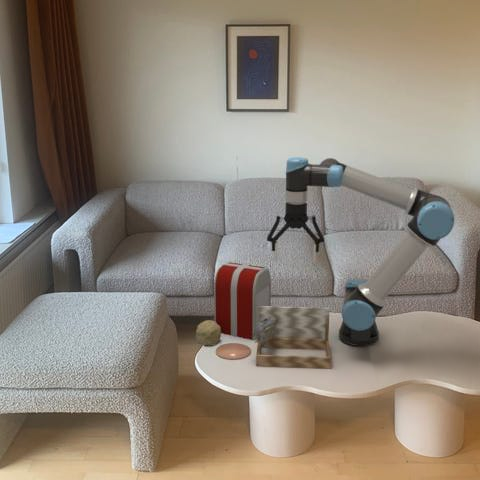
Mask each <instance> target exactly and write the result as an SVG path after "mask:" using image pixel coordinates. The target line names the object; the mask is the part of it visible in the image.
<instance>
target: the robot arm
mask: <svg viewBox="0 0 480 480" xmlns="http://www.w3.org/2000/svg"><path fill="white" fill-rule="evenodd" d="M308 187H323V188H326V187H327V188H340V187H344V188H347V189H350V190H352V191H354V192H357V193H360V194H363V195H365V196H367V197H369V198H372V199H374V200H378V201H380V202H383V203H385V204H388V205H391V206H393V207H396V208H399V209H401V210H404V212H405V214H407V215H409V216H412V217H411V219H410V221H409V222H408V223H407V224H406V230H407V231H406V232H405V234H404V235H403V237H402V238H400V240H399V241H398V242H397V244H396V245H395V246H394V247H393V248H392V250H391V251H390V252H389V254H388V255H387V256H386V258H384V260H383V261H382V262H381V264H379V266H378V267H377V268H376V269H375V271H374V272H373V273H372V275H371V276H370V277H369V278H368V279H365V278H353V279H348V280H346V281H345V286H344V289H345V290H344V291H345V292H344V299H343V304H342V308H341V319H342V321H341V325H340V327H339V329H338V339H339V340H340V341H341V342H343V343H345V344H349V345H353V346H360V347H361V346H363V347H364V346H370V345H374V344H376V343H378V341H379V338H380V335H379V334H380V333H379V330H378V326H377V323H376V318H377V315H378V314H379V313H380V312H381V311H382V310H383V309H384V307H385V306H386V301H385V300H386V298H387V297H388V296H389V295H390V293H391V292H392V291H393V289H395V287H396V286H397V285H398V284H399V283H400V281H401V280H402V279H403V277H405V275H406V274H407V273H408V272H409V270H410V269H412V267H413V266H414V264H416V262H417V261H418V260H419V258H420V257H421V256H422V255H423V254H424V253H425V251H426V250H427V249H428V248H429V247H431V248H433V247H435V246H436V245H437V244H439V242H440V240H442V239H443V238H446V237H447V236H448V235H449V234H450V233H451V232H452V231H453V228H454V226H455V221H456V220H455V214H454V212H453V209H452V208H451V205H450V203H449V202H448V200H446V199H445V198H444V197H442V196H440V195H437V194H434V193H430V192H429V191H425V190H421V189H420V188H415V189H411V188H408V187H405V186H402V185H400V184H397V183H394V182H392V181H390V180H386V179H384V178H383V177H379V176H376V175H374V174H370V173H368V172H365V171H363V170H360V169H358V168H355V167H352V166H350V165H346V164H344V163H341V162H340V161H338V160H337V159H335V158H333V157H329V158H326V159H323V160H322V161H321V162H320V163H319V164H312V163H309V159H308V158H306V157H299V156H298V157H297V156H296V157H295V156H294V157H289V158H288V159H287V161H286V169H285V201H286V203H285V213H284V215H280V214H276V220H275V222H274V224H273V226H272V228H271V230H270V231H269V233H268V235H267V237H266V241H267V242H270V243H271V251H272V252H274V261H275V262H277V261H278V239H279V238H280V237H281V236H282V235H283V234H284V233H285V232H286V231H287V230H288V229H289V228H290V229H297V230H298V229H300V230H301V228H303V230H305V231H304V232H306V233H307V234H308V235H309V237H310V238H311V239H312V240H313V245H312V247H313V248H312V249H313V250H312V252H313V253H312V262H314V263H315V262H316V254H317V253H319V252H320V244H321V243H325V237H324V235H323V233H322V231H321V229H320V227H319V224H318V223H317V219H316V215H315V214H313V215H311V216H309V215H308V203H307V202H308ZM282 221H284V222H285V224H284V225H283V226H282V227H281V228H280V230H278V232H277V233H276V234H275V232H276V230H277V228H278V226H279V224H280V223H281V222H282ZM308 221H309V222H310V223H312V225H313V228H314V230H315V231H316V233H317V235H318V237H319V238H318V237H317V236H316V234H315V233H314V232H313V231H312V230H311V228H310V227H309V226H308V225H307V222H308ZM273 235H275V236H273Z"/></svg>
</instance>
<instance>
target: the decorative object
mask: <svg viewBox="0 0 480 480" xmlns="http://www.w3.org/2000/svg"><path fill="white" fill-rule="evenodd" d="M221 335H222V333H221V328H220V326H219V325H218V324H217V323H216V322H215V321H214V320H210V319H209V320H204V321H202V322H200V323H199V324H198V325H197V328H196V331H195V341H196V342H197V344H199V345H202V346H215V345H216V344H218V343H219V342H220V340H221Z"/></svg>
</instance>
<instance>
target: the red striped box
mask: <svg viewBox="0 0 480 480" xmlns="http://www.w3.org/2000/svg"><path fill="white" fill-rule="evenodd" d="M271 278H272V277H271V272H270V269H269V268H268V267H265V266H258V265H252V264H249V263H248V264H247V263H244V264H243V263H238V262H229V261H228V262H225V263H223V264H222V265H221V266H220V267H218V268H217V270H216V272H215V275H214V281H213V300H214V301H213V302H214V303H213V306H214V307H213V308H214V309H213V313H214V317H213V319H214V320H213V321H215V322H216V323H217V324H218V325H219V326H220V328H221V335H226V336H231V337H234V338H235V337H236V338H241V339H244V340H250V341H256V340H257V337H254V338H252V337H253V336H254V335H253V334H254V333H253V332H254V330H256V329H257V328H259V306H271V307H272V305H271V304H272V303H271V297H272V296H271V295H272V292H271V291H272V289H271V288H272V284H271V283H272V279H271Z"/></svg>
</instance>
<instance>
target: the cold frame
mask: <svg viewBox="0 0 480 480" xmlns="http://www.w3.org/2000/svg"><path fill="white" fill-rule="evenodd" d="M330 310H331V309H330V307H304V306H303V307H299V306H272V305H271V306H259V327H260V326H261V324H262V321H263V319H266V318H267V317H271V318H274V319H277V324H276V326H275V329H274V330H273V332H272V334H271V335H270V337H269V339H268V341H267V342H266V344H265V346H264V347H262V348H261V345H260V342H257V346H256V354H255V356H256V358H255V367H267V368H268V367H270V368H273V367H274V368H275V367H276V368H297V369H299V368H300V369H302V368H303V369H326V370H327V369H329V370H330V369H331V367H332V366H331V365H332V364H331V363H332V357H331V356H332V355H331V349H330V348H331V347H330V341H329V337H330V335H329V334H330V331H329V330H330ZM260 348H261V349H260ZM262 349H281V350H282V349H287V350H311V351H312V350H313V351H315V350H316V351H325V356H309V355H285V354H284V355H283V354H281V355H278V354H276V355H275V354H261V351H262Z"/></svg>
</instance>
